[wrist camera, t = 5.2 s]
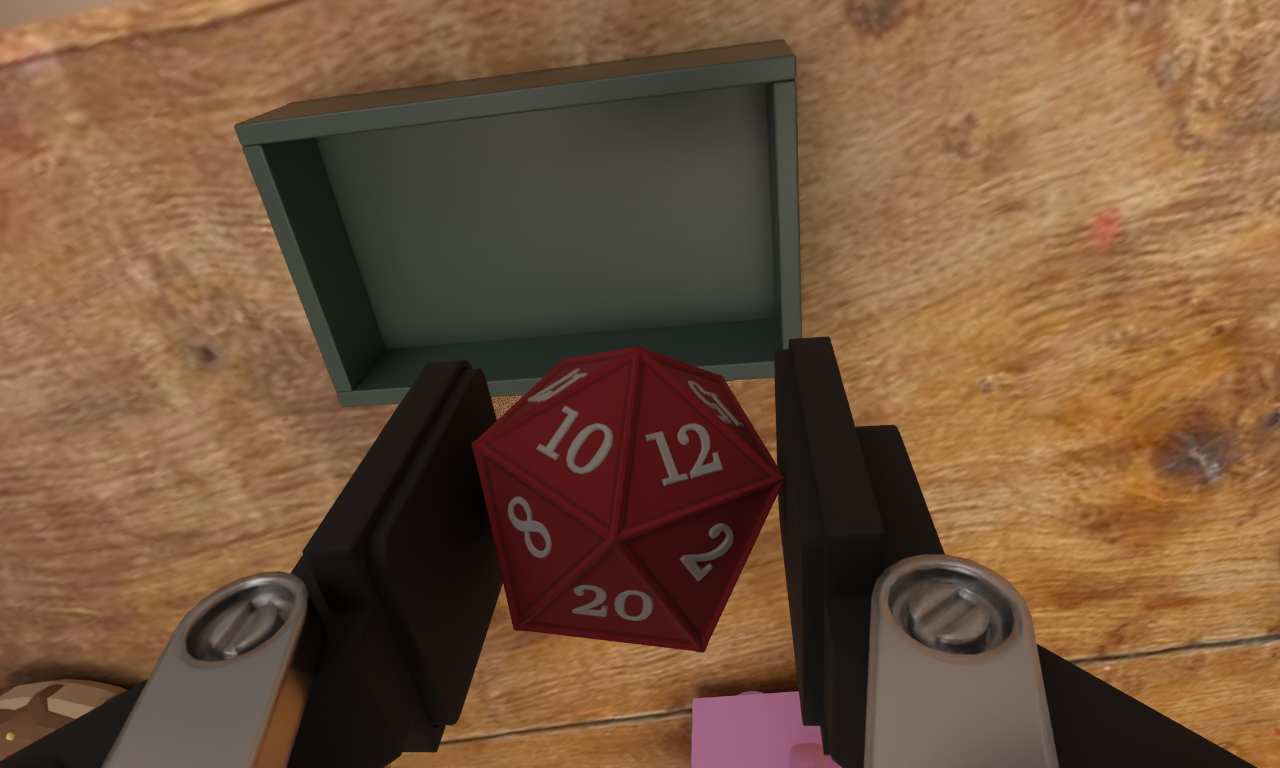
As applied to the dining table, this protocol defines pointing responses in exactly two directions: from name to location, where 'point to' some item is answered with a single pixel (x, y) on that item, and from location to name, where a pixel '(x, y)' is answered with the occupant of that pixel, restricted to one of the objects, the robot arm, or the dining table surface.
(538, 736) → the dining table surface
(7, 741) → the donut
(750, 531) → the dice
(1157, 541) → the dining table surface
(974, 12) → the dining table surface
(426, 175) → the tray
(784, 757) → the teapot
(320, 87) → the dining table surface
